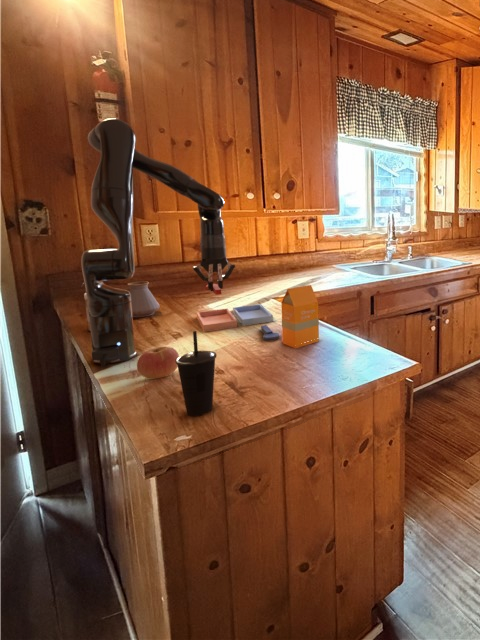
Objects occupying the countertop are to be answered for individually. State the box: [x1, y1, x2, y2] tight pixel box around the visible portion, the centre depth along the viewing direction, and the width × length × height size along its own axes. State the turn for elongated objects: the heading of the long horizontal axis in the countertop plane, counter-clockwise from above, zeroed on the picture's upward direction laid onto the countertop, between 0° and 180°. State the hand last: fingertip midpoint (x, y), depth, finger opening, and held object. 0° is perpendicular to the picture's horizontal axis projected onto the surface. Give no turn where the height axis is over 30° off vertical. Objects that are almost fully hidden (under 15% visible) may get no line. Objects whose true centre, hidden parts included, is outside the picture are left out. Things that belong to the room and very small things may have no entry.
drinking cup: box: [175, 330, 218, 417], centre depth 96 cm, size 8×8×20 cm
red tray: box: [196, 307, 238, 333], centre depth 157 cm, size 19×10×2 cm, turn 43°
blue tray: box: [232, 303, 274, 327], centre depth 166 cm, size 19×10×2 cm, turn 43°
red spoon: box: [205, 283, 222, 296], centre depth 155 cm, size 14×5×2 cm, turn 43°
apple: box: [136, 345, 180, 380], centre depth 113 cm, size 9×9×8 cm
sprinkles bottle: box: [83, 292, 90, 331], centre depth 143 cm, size 5×5×13 cm
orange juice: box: [280, 284, 320, 349], centre depth 141 cm, size 8×9×20 cm
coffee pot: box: [80, 281, 160, 318], centre depth 157 cm, size 21×12×15 cm, turn 133°
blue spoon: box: [260, 324, 280, 342], centre depth 148 cm, size 14×5×2 cm, turn 43°
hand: (215, 290), depth 155 cm, fingers closed on red spoon, 2 cm apart
